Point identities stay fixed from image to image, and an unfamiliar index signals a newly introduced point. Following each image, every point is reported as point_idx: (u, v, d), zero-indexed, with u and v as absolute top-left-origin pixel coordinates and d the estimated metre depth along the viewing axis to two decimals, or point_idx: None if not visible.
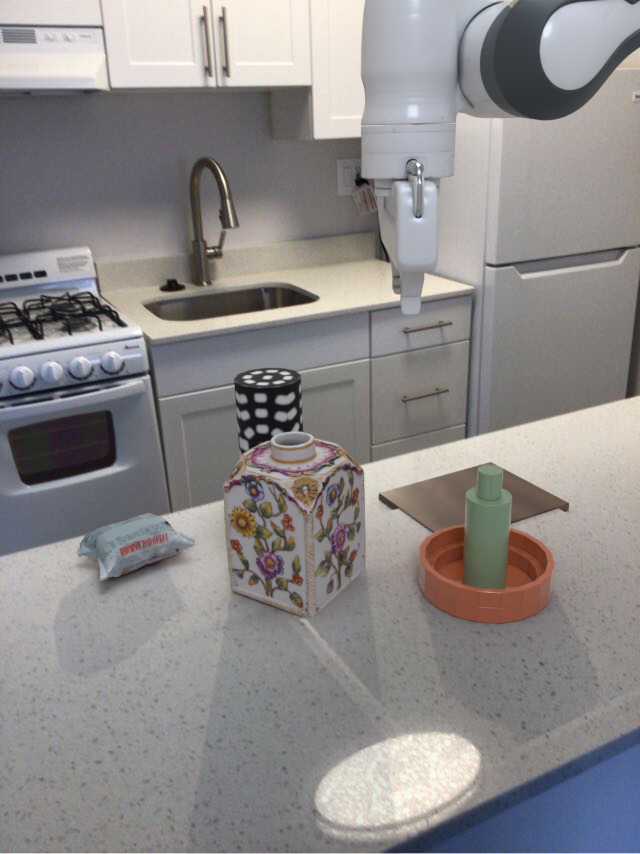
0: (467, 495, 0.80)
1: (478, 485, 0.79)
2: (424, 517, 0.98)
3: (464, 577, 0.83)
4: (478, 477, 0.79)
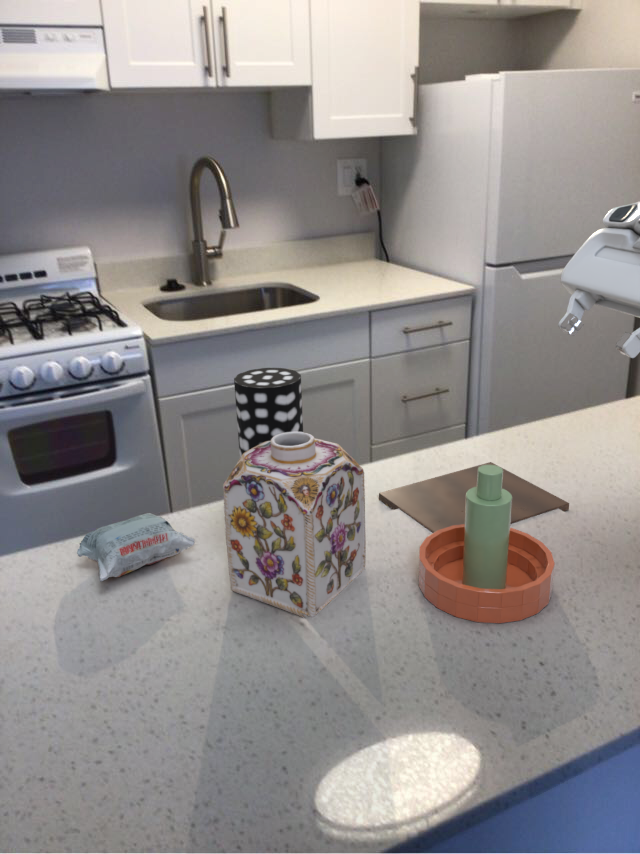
0: (467, 495, 0.80)
1: (478, 485, 0.79)
2: (424, 517, 0.98)
3: (464, 577, 0.83)
4: (478, 477, 0.79)
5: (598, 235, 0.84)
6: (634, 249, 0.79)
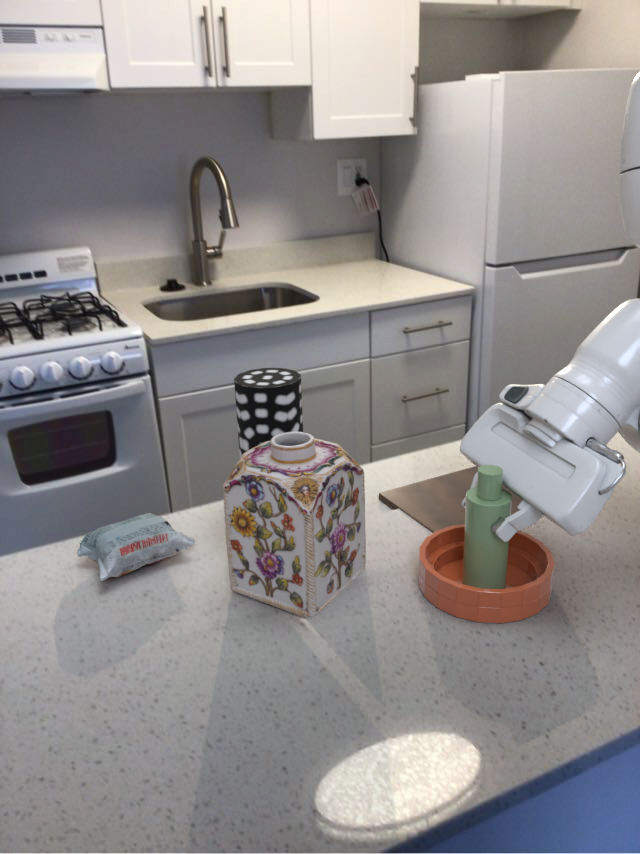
0: (467, 495, 0.80)
1: (478, 485, 0.79)
2: (424, 517, 0.98)
3: (464, 577, 0.83)
4: (478, 477, 0.79)
5: (495, 410, 0.86)
6: (524, 433, 0.82)
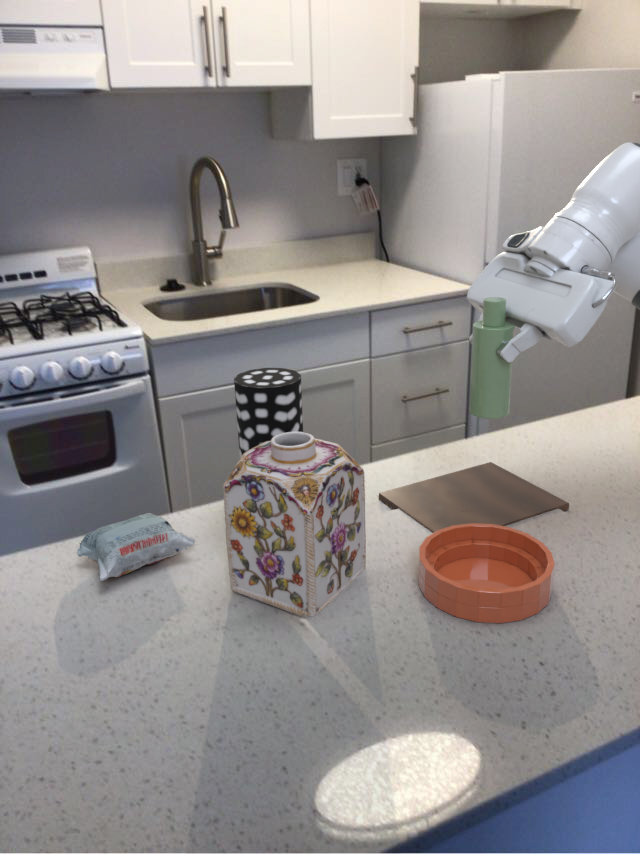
0: (474, 325, 0.89)
1: (484, 314, 0.88)
2: (424, 517, 0.98)
3: (471, 404, 0.92)
4: (484, 306, 0.88)
5: (498, 258, 0.95)
6: (525, 272, 0.91)
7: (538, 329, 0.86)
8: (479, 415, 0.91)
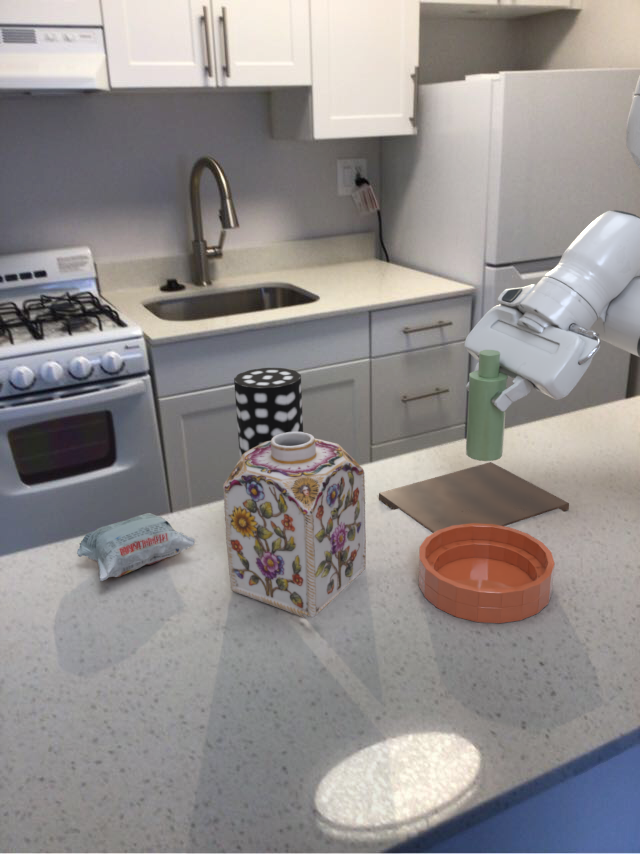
0: (470, 375, 0.97)
1: (479, 366, 0.96)
2: (424, 517, 0.98)
3: (467, 447, 1.00)
4: (479, 359, 0.96)
5: (494, 311, 1.03)
6: (518, 326, 0.98)
7: (529, 381, 0.93)
8: (475, 457, 0.99)
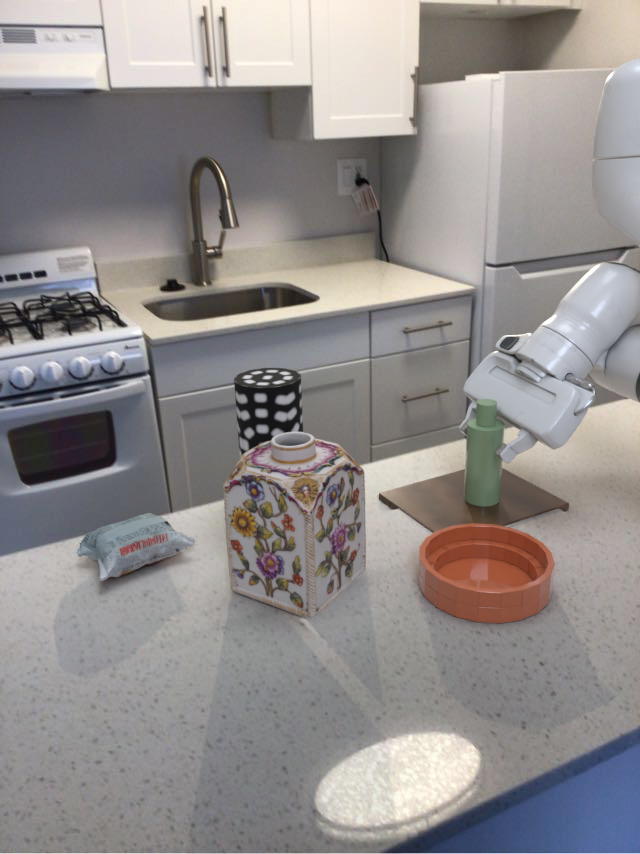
0: (468, 423, 0.99)
1: (477, 415, 0.98)
2: (424, 517, 0.98)
3: (466, 492, 1.02)
4: (477, 408, 0.98)
5: (492, 357, 1.05)
6: (515, 373, 1.00)
7: (534, 434, 0.94)
8: (473, 503, 1.01)
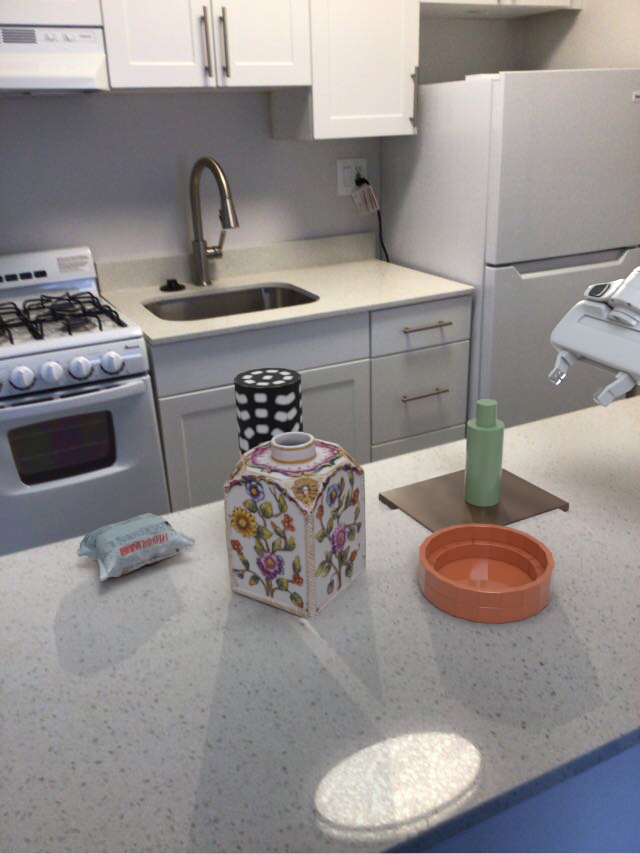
0: (468, 423, 0.99)
1: (477, 415, 0.98)
2: (424, 517, 0.98)
3: (466, 492, 1.02)
4: (477, 408, 0.98)
5: (580, 306, 1.05)
6: (608, 320, 1.00)
7: (633, 377, 0.94)
8: (473, 503, 1.01)
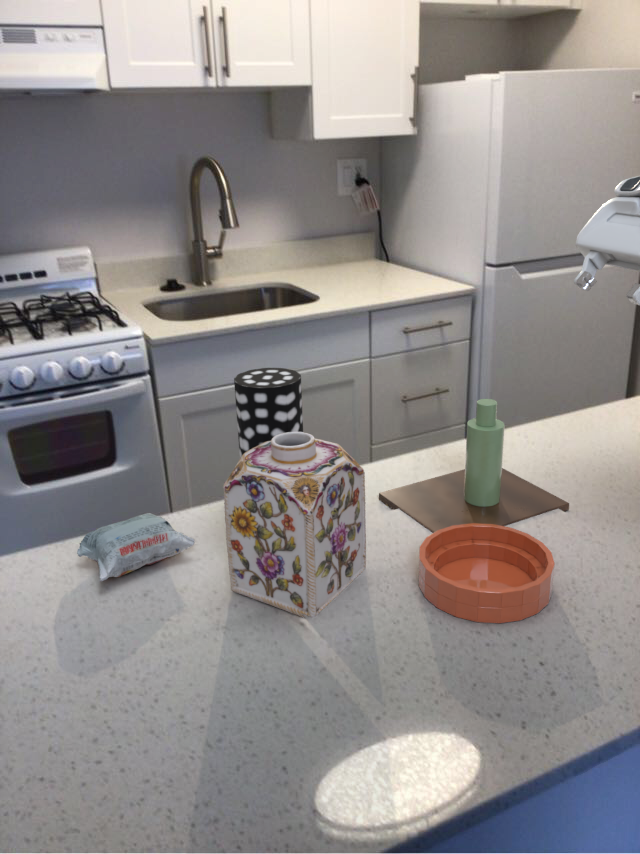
0: (468, 423, 0.99)
1: (477, 415, 0.98)
2: (424, 517, 0.98)
3: (466, 492, 1.02)
4: (477, 408, 0.98)
5: (610, 203, 0.95)
6: None
7: None
8: (473, 503, 1.01)
